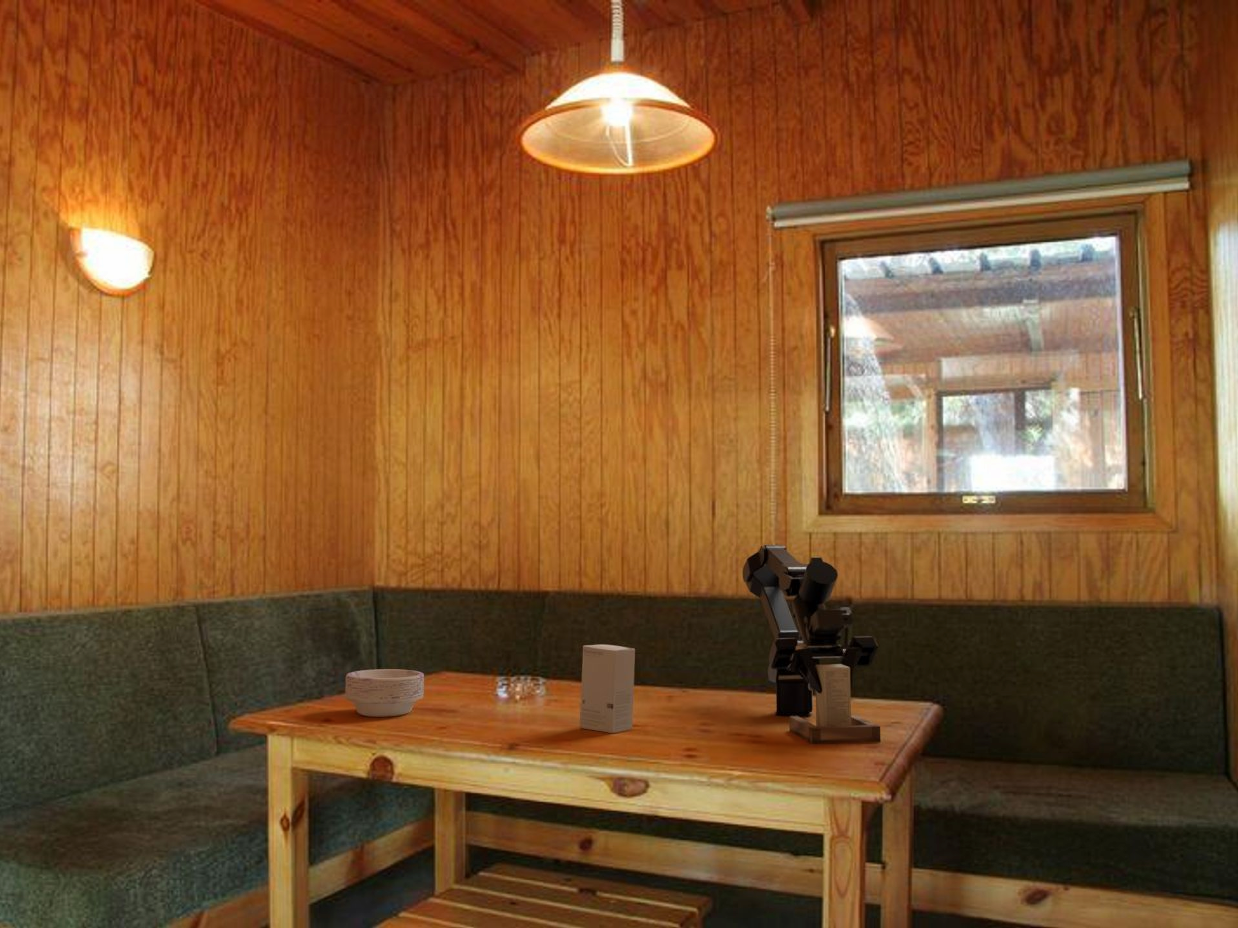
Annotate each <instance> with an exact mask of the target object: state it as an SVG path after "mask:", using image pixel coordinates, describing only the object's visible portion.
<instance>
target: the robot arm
mask: <svg viewBox="0 0 1238 928" xmlns="http://www.w3.org/2000/svg"><path fill="white" fill-rule="evenodd" d="M838 576H839V574H838V571H837V568H835V567H834V566H833V565H831V564H830V563H828V562H825V561H823V558H822V557H819V556H818V557H811V558H810V560H809V563H802V562H799V560H798V559H796V558H795V556H793V555H792V554H791V553H790V552H788V551H787V547H786V546H785V545H782V544H763V546H762V545H761V546H760V548H759V550H758V551H757V552H755V553H753V554H752V555H751V556H749V557H747V558H746V561H745V563H744V565H743V567H742V580H743V583H745V584H746V587H747V589H748V590H749V593H751V594H752V595H755V596H756V597H757V598H759V599H760V601H761V605H762V607H763V609H764V612H765V615H766V618H767V621H768V624H769V626H770V629H771V633H772V635H773V638H774V640H773V642H772V646H771V648H770V652H769V655H768V660H769V661H768V662H769V664H768V667H767V677H768V681H770V682H772V683H774V684H775V696H776V697H775V701H776V702H775V704H776V705H775V706H776V707H775V709H776V710H775V712H774V713H775V715H776V716H798V717H801V716H802V717H804V716H805V717H808V716H809V717H810V715H811V713H812V712H813V710H814V705H813V704H814V703H813V702H814V700H813V693H814V692H813V689H814V690H815V692H816V691H817V692H818V693H821V692H822V686H821V682H820V679H819V676H818V674H817V671H816V668H815V665H820V664H821V663H820V662H821V659H831V658H832V659H834V658H835V659H838V658H839V661H840V664H842V665H845V666H847V667H850V693H851V692H852V690H853V678H854V677H853V675H854V670H855V669H856V668H861V667H862V668H863V667H864V668H865V667H869V666H870V665H872V663H873V661H874V658H875V656H876V653H877V650H878V649H879V644H878V643H877V640H876V638H875V637H874V636H871V635H868V636H867V635H866V636H865V635H864V636H860V635H859V636H852V638H851V639H850V643H849V644H842V645H841V644H839V643H838V642H837V641H840V640H841V637H842V633H841V631H842V630H843V629H845V628H850V627H851V626H852V624H853V623H854V616H853V613H852V610H851V609H850V607H849V606H845V607H843V606H842V607H840V608H836V609H835V608H831V609H828V608H827V609H826V605H825V604H826V603H827V602H828V603H829V601H830V600H831V597H832V593H833V591H834V589H835V585H836V582H837V579H838ZM786 597H787V598H789V597H794V598H793V600H792V606H791V607H792V613H791V610H790V608H789V605H788V603H787V600H786ZM794 618H795V619H796V622H797V623H795V620H794ZM796 624H797V625H798V627H797V625H796ZM798 629H799V631H798Z"/></svg>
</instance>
